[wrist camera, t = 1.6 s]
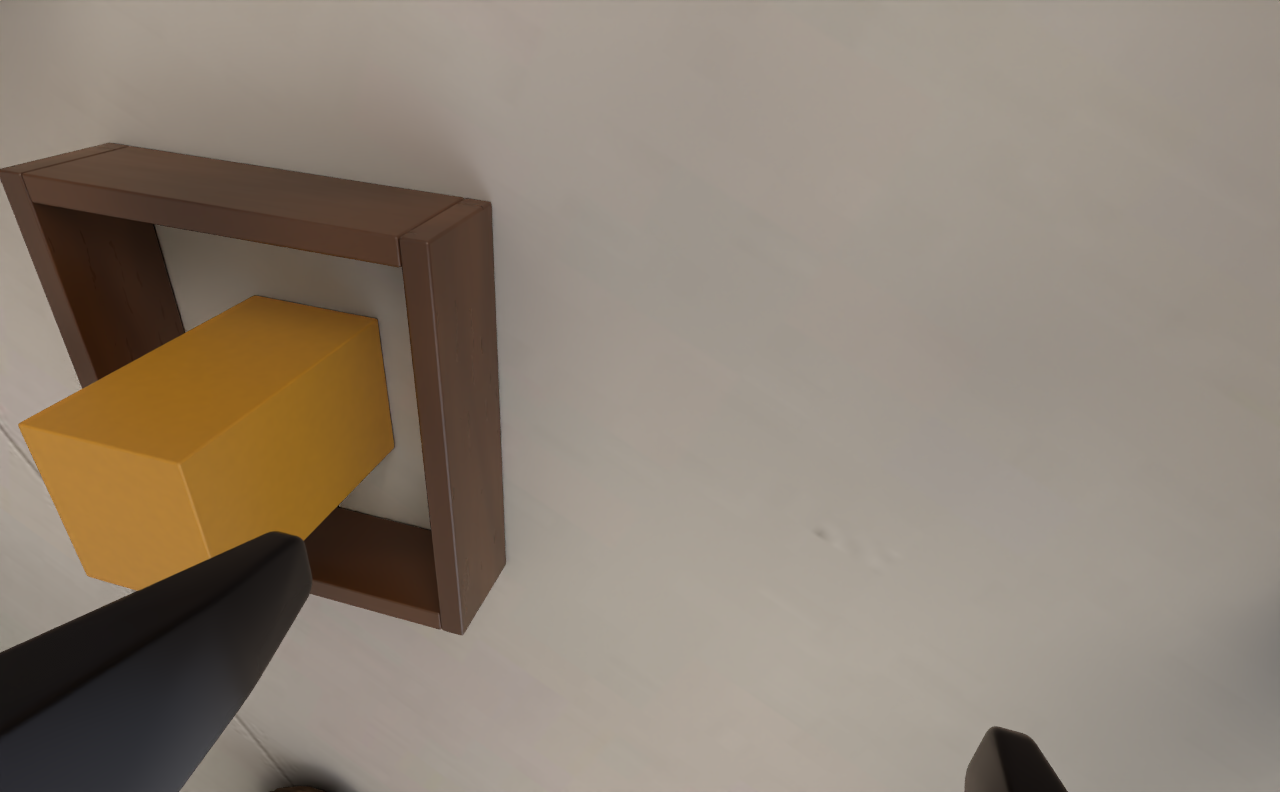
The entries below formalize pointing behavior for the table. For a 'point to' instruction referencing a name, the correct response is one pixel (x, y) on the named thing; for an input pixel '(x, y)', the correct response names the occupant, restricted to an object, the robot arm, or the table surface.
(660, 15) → the table surface
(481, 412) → the brown wooden square frame
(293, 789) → the fossilized seashell
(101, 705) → the robot arm
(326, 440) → the ochre block
